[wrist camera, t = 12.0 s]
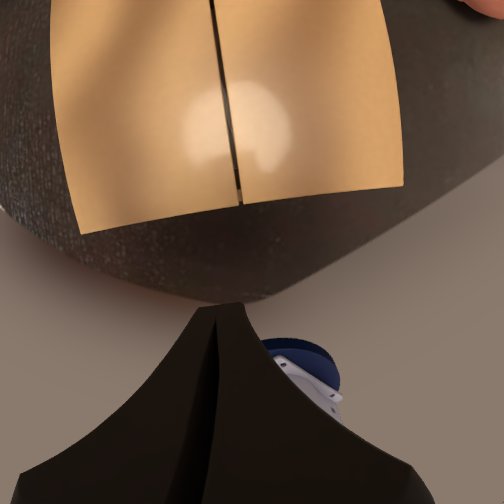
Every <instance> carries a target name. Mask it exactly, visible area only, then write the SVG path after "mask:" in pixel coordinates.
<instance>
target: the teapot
mask: <svg viewBox="0 0 504 504" xmlns="http://www.w3.org/2000/svg"><path fill="white" fill-rule="evenodd" d="M458 1H461V2H465V3H466V4H467V5H468V6H470V7H471V8H472V9H474V10H476V11H478V12H480V13H482V14H484V15H487V16H490V17H493V18H497V19H504V0H458Z"/></svg>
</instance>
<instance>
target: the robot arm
mask: <svg viewBox="0 0 504 504" xmlns="http://www.w3.org/2000/svg"><path fill="white" fill-rule="evenodd" d="M282 363H285V364H282ZM342 398H343V396H342V394H341V393H339V392H338V391H336V390H334V389H333V388H331V387H330V386H328V385H327V384H325V383H323V382H322V381H320V380H319V379H317V378H316V377H314V376H313V375H311V374H309V373H308V372H306V371H305V370H303V369H302V368H300V367H299V366H297V365H296V364H294V363H293V362H291V361H290V360H288V359H287V358H285V357H284V356H282V355H277V356H275V357H274V358H272V356H271V355H270V354H269V352H268V351H267V350H266V348H265V347H264V345H263V344H262V342H261V341H260V339H259V337H258V336H257V334H256V333H255V331H254V329H253V327H252V326H251V323H250V321H249V319H248V317H247V314H246V311H245V306H244V304H242V303H241V302H236V303H229V304H221V305H214V306H207V307H199V308H198V309H197V310H196V312H195V313H194V315H193V316H192V318H191V319H190V321H189V323H188V324H187V326H186V327H185V329H184V330H183V332H182V333H181V335H180V336H179V338H178V339H177V341H176V342H175V344H174V345H173V346H172V348H171V349H170V351H169V352H168V353H167V355H166V356H165V357H164V359H163V360H162V361H161V363H160V364H159V365H158V366H157V368H156V369H155V370H154V371H153V373H152V374H151V376H149V378H148V379H147V380H146V381H145V382H144V384H143V385H142V386H141V387H140V388H139V389H138V390H137V391H136V392H135V393H134V394H133V395H132V396H131V397H130V398H129V399H128V400H127V401H126V402H125V403H124V404H123V405H122V406H121V407H120V408H119V409H118V410H117V411H115V412H114V413H113V414H112V415H111V416H110V417H108V418H107V419H106V420H105V421H104V422H103V423H101V424H100V425H99V426H98V427H97V428H96V429H94V430H93V431H92V432H90V433H89V434H88V435H86V436H85V437H83V438H82V439H81V440H79V441H78V442H76V443H75V444H73V445H72V446H71V447H69V448H67V449H66V450H64V451H63V452H61V453H59V454H58V455H56V456H54V457H53V458H51V459H49V460H47V461H45V462H43V463H41V464H39V465H37V466H35V467H34V468H32V469H30V470H28V471H26V472H23V473H21V474H20V476H19V479H18V481H17V484H16V487H15V490H14V493H13V497H12V500H11V503H10V504H435V502H434V500H433V497H432V495H431V493H430V492H429V490H428V488H427V487H426V485H425V484H424V482H423V481H422V479H421V478H420V476H419V475H418V474H417V472H416V471H415V470H414V469H413V467H412V466H411V465H409V464H407V463H405V462H403V461H401V460H399V459H397V458H395V457H394V456H391V455H390V454H388V453H386V452H384V451H382V450H381V449H379V448H377V447H375V446H374V445H372V444H370V443H369V442H367V441H365V440H364V439H362V438H361V437H359V436H358V435H356V434H355V433H353V432H352V431H350V430H349V429H347V428H346V427H345V426H343V423H342V420H341V417H340V414H339V412H338V409H337V406H336V403H338V402H339V401H341V400H342ZM502 504H504V502H503V503H502Z"/></svg>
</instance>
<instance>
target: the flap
mask: <svg viewBox="0 0 504 504" xmlns="http://www.w3.org/2000/svg"><path fill="white" fill-rule="evenodd" d="M214 7H215V14H216V20H217V27H218V34H219V41H220V48H221V55H222V62H223V69H224V75H225V82H226V89H227V96H228V103H229V110H230V117H231V123H232V130H233V137H234V144H235V151H236V157H237V164H238V171H239V178H240V185H241V191H242V198H243V204H250V203H257V202H264V201H271V200H278V199H286V198H294V197H302V196H310V195H318V194H327V193H336V192H345V191H355V190H365V189H375V188H387V187H398V186H403V150H402V133H401V120H400V110H399V100H398V92H397V84H396V77H395V70H394V64H393V58H392V52H391V47H390V42H389V37H388V32H387V28H386V23H385V19H384V15H383V11H382V7H381V3H380V0H214Z"/></svg>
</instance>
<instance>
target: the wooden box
mask: <svg viewBox="0 0 504 504" xmlns="http://www.w3.org/2000/svg"><path fill="white" fill-rule="evenodd" d="M50 52H51V74H52V88H53V98H54V107H55V115H56V123H57V130H58V136H59V142H60V148H61V154H62V159H63V164H64V169H65V174H66V178H67V183H68V187H69V191H70V195H71V199H72V203H73V207H74V211H75V215H76V218H77V222H78V225H79V229H80V232H81V234H86V233H91V232H96V231H100V230H105V229H110V228H115V227H120V226H125V225H130V224H135V223H140V222H145V221H150V220H156V219H161V218H167V217H172V216H178V215H184V214H189V213H195V212H201V211H207V210H213V209H220V208H226V207H232V206H238V205H239V201H243V198H242V191H241V185H240V178H239V171H238V164H237V157H236V151H235V144H234V137H233V130H232V123H231V117H230V110H229V103H228V96H227V89H226V82H225V75H224V69H223V62H222V55H221V48H220V41H219V34H218V27H217V20H216V14H215V7H214V0H52V1H51V21H50Z"/></svg>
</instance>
